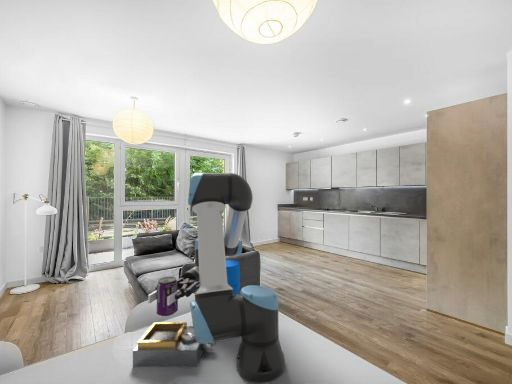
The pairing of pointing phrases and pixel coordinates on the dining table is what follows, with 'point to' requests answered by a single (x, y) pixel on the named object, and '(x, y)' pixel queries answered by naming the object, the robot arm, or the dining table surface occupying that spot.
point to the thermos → (233, 275)
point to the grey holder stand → (169, 346)
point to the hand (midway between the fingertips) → (158, 300)
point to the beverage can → (164, 290)
